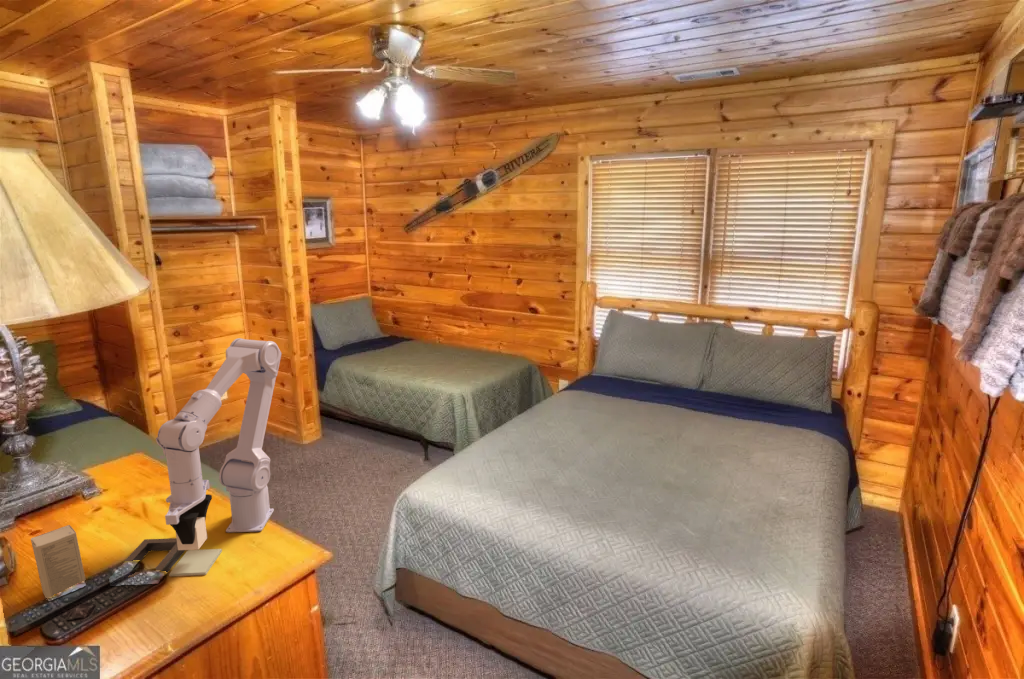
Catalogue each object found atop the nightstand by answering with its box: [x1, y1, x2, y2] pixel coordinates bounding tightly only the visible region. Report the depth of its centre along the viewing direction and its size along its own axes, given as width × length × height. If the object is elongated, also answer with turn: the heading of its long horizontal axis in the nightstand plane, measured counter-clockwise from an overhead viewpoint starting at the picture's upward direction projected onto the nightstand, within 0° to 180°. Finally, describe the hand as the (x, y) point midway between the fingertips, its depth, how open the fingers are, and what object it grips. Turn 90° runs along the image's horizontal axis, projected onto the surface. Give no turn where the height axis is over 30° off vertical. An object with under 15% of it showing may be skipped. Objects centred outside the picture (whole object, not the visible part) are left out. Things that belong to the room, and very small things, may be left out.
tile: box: [168, 548, 223, 577], centre depth 117 cm, size 8×7×1 cm
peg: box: [175, 517, 208, 551], centre depth 115 cm, size 4×4×5 cm
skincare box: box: [30, 524, 86, 599], centre depth 106 cm, size 6×4×12 cm
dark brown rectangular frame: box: [124, 537, 186, 578], centre depth 116 cm, size 13×9×2 cm
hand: (193, 536), depth 115 cm, fingers closed on peg, 4 cm apart
